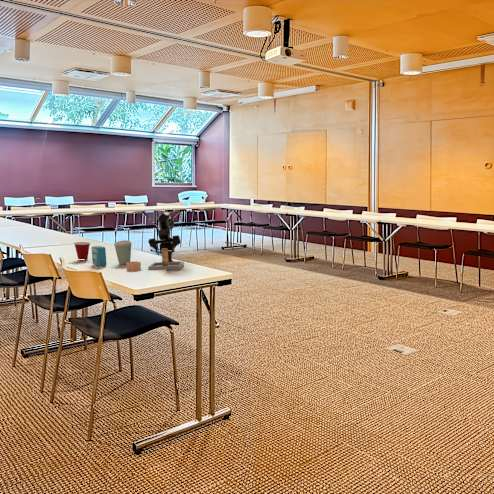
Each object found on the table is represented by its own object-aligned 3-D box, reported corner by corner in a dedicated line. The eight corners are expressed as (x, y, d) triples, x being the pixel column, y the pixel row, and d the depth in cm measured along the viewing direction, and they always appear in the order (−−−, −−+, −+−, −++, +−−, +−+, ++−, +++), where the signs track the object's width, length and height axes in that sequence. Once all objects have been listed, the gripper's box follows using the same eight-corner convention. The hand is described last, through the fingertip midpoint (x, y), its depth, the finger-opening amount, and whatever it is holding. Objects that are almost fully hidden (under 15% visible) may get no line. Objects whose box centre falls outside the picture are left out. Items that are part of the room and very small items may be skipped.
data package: (92, 264, 346) (91, 246, 344) (99, 264, 348) (98, 245, 347) (99, 267, 336) (98, 247, 334) (106, 266, 339) (105, 247, 337)
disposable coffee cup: (128, 266, 334) (127, 242, 332) (112, 266, 336) (110, 242, 334) (135, 263, 344) (134, 240, 342) (119, 263, 347) (118, 240, 345)
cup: (129, 269, 321) (128, 261, 321) (142, 269, 321) (141, 261, 320) (125, 272, 313) (124, 263, 313) (139, 271, 313) (138, 263, 312)
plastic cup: (88, 261, 362) (87, 243, 361) (72, 261, 363) (71, 243, 361) (93, 258, 373) (92, 241, 371) (78, 259, 373) (76, 241, 372)
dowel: (161, 267, 321) (160, 248, 319) (167, 266, 322) (166, 248, 321) (164, 267, 318) (162, 249, 316) (169, 267, 319) (168, 248, 318)
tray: (154, 266, 330) (154, 262, 330) (183, 265, 330) (183, 261, 329) (148, 271, 315) (148, 266, 314) (179, 270, 314) (179, 265, 313)
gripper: (146, 226, 327) (145, 247, 318) (177, 222, 327) (177, 243, 318) (150, 236, 336) (150, 257, 328) (180, 232, 336) (181, 253, 327)
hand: (164, 252), depth 325 cm, fingers open, 9 cm apart
